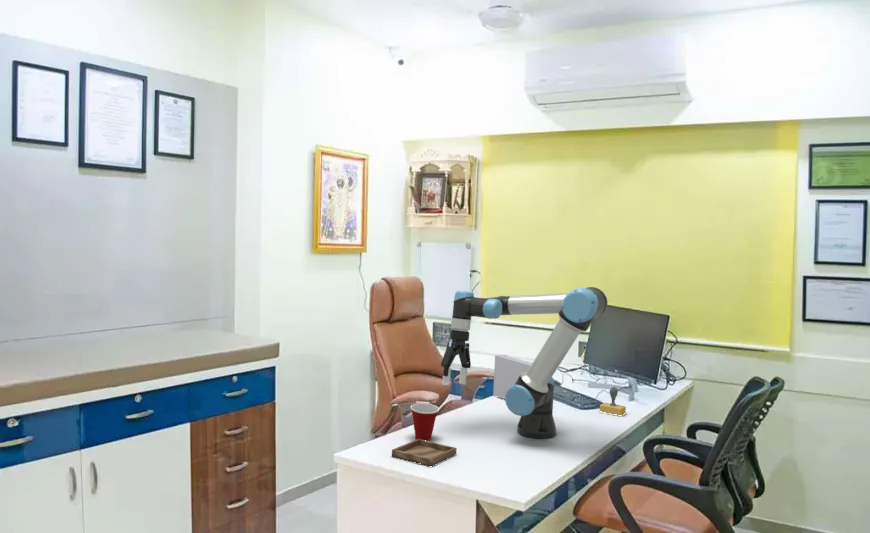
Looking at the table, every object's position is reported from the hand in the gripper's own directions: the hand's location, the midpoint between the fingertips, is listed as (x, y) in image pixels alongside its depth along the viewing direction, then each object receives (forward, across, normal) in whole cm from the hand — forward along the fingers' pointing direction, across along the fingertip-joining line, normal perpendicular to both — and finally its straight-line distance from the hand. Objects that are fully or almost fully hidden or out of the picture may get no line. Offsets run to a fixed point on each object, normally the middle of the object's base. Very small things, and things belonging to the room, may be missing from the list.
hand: (454, 384), depth 258 cm
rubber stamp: (+8, -70, +44) cm, 83 cm away
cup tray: (+22, +30, +8) cm, 38 cm away
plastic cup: (+20, +14, -3) cm, 25 cm away
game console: (+10, -61, +1) cm, 61 cm away
